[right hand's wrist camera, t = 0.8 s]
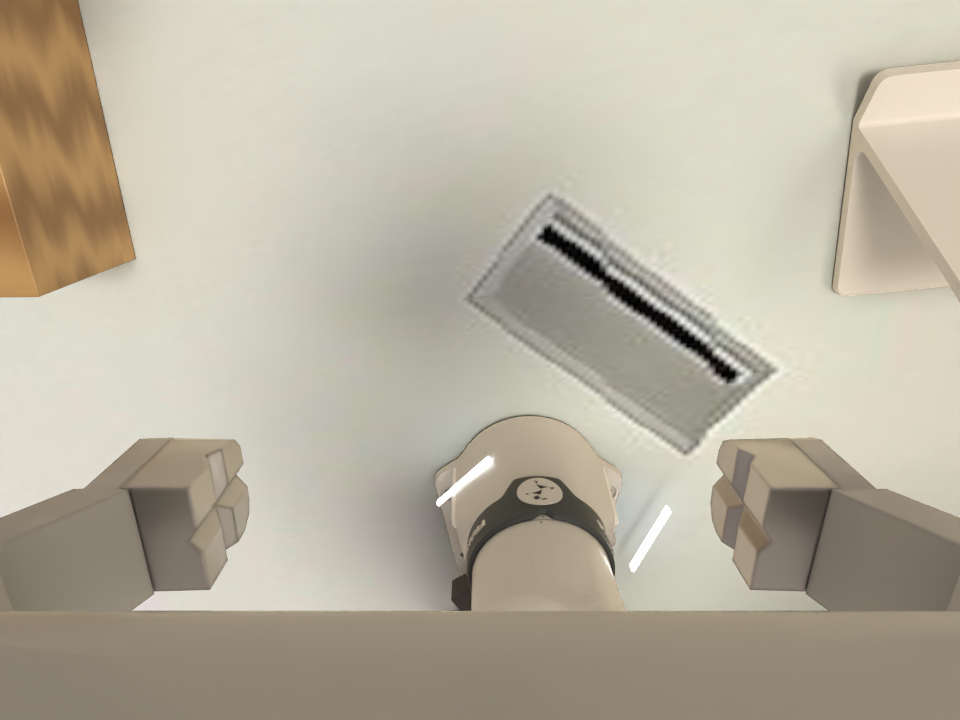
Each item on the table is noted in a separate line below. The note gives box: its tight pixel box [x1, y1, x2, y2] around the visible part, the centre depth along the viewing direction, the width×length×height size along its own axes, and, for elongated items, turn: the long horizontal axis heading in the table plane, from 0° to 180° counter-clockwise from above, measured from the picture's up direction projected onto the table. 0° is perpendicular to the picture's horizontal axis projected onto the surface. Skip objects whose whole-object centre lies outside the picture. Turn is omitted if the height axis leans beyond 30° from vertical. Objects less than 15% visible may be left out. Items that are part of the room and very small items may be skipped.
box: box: [0, 0, 135, 297], centre depth 42 cm, size 24×6×12 cm, turn 0°
